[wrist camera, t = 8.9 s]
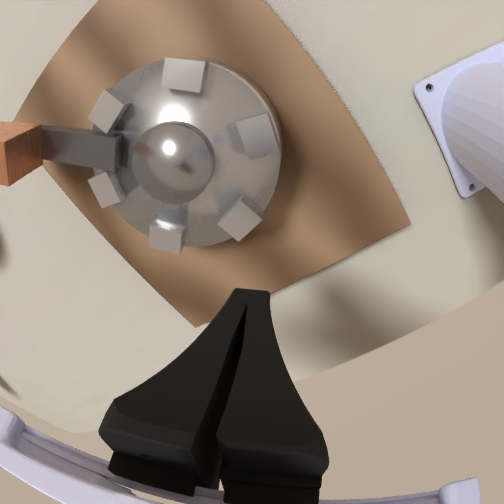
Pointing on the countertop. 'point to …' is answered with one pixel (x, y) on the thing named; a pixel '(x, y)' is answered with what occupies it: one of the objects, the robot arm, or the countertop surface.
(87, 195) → the base plate
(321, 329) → the countertop surface
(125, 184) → the valve handle
